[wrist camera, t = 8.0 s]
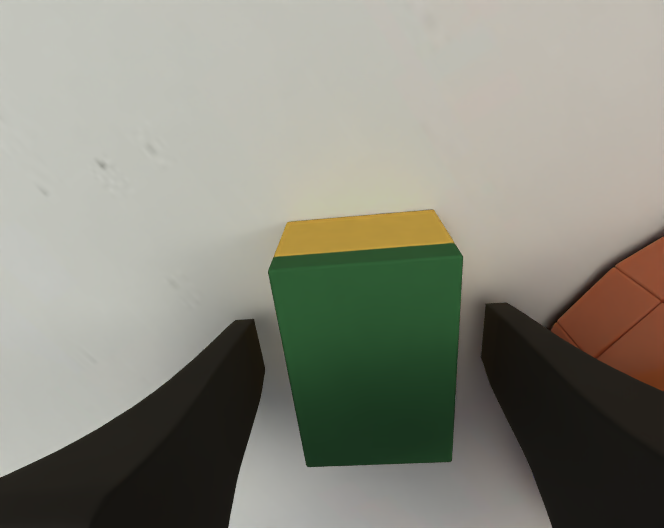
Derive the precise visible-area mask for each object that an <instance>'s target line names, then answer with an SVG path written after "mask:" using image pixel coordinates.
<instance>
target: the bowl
mask: <svg viewBox="0 0 664 528" xmlns="http://www.w3.org/2000/svg"><path fill="white" fill-rule="evenodd" d="M550 331H551V332H553V333H554V334H556V335H557V336H559V337H561V338H562V339H564V340H565V341H567V342H569V343H570V344H572V345H574V346H575V347H577V348H579V349H580V350H582V351H584V352H586V353H587V354H589V355H591V356H593V357H594V358H596V359H598V360H600V361H601V362H603V363H605V364H607V365H609V366H611V367H613V368H615V369H617V370H619V371H621V372H623V373H625V374H627V375H629V376H631V377H633V378H635V379H637V380H639V381H642V382H644V383H646V384H648V385H650V386H653V387H655V388H657V389H659V390H662V391H664V236H663V237H661V238H660V239H658V240H656V241H655V242H653V243H651V244H650V245H648V246H646V247H645V248H643V249H641V250H639V251H638V252H636V253H634V254H633V255H631V256H629V257H628V258H626V259H624V260H623V261H621V262H619V263H618V264H616V265H615V268H614V267H613V268H611V269H610V270H609V271H608V272H607V273H606V274H605V275H604V276H603V277H602V278H601V279H600V280H599V281H598V282H596V283H595V284H594V285H593V286H592V287H591V288H590V289H589V290H588V291H587V292H586V293H585V294H584V295H583V296H582V297H581V298H580V299H579V300H578V301H577V302H576V303H575V304H574V305H572V306H571V307H570V308H569V309H568V310H567V311H566V312H565V313H564V314H563V315H562V316H561V317H560V318H559V319H558V320H557V322H556V323H554V325H553V327H552V329H551V330H550Z"/></svg>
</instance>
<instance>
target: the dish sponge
mask: <svg viewBox="0 0 664 528" xmlns="http://www.w3.org/2000/svg"><path fill="white" fill-rule="evenodd" d="M462 267H463V256H462V254H461V253H460V251H459V249H458V248H457V246H456V245H455V244H454V241H453V240H452V238H451V237H450V235H449V233H448V232H447V230H446V229H445V227H444V225H443V224H442V222H441V221H440V219H439V218H438V216H437V214H436V213H435V211H434V210H423V211H412V212H400V213H388V214H376V215H365V216H353V217H341V218H329V219H317V220H306V221H294V222H288V223H287V224H286V227H285V229H284V232H283V234H282V237H281V239H280V242H279V245H278V247H277V250H276V252H275V255H274V258H273V260H272V262H271V265H270V267H269V270H268V274H269V279H270V284H271V289H272V294H273V299H274V304H275V310H276V315H277V320H278V325H279V330H280V335H281V340H282V345H283V350H284V355H285V360H286V365H287V370H288V375H289V380H290V385H291V390H292V396H293V401H294V406H295V411H296V416H297V421H298V426H299V431H300V436H301V441H302V446H303V451H304V456H305V461H306V466H307V467H324V466H352V465H380V464H408V463H435V462H451V461H452V450H453V432H454V414H455V395H456V377H457V359H458V340H459V322H460V304H461V285H462Z"/></svg>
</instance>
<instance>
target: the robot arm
mask: <svg viewBox="0 0 664 528" xmlns="http://www.w3.org/2000/svg"><path fill="white" fill-rule="evenodd" d="M481 359H482V362H483V365H484V368H485V371H486V374H487V377H488V380H489V383H490V385H491V388H492V390H493V392H494V394H495V396H496V398H497V400H498V402H499V404H500V406H501V408H502V410H503V412H504V414H505V417H506V419H507V421H508V423H509V425H510V427H511V429H512V431H513V433H514V435H515V437H516V439H517V441H518V443H519V445H520V447H521V449H522V451H523V453H524V455H525V457H526V459H527V462H528V464H529V466H530V468H531V471H532V473H533V476H534V479H535V481H536V484H537V487H538V489H539V492H540V494H541V497H542V500H543V502H544V505H545V508H546V511H547V514H548V516H549V519H550V522H551V525H552V528H664V391H662V390H659V389H657V388H655V387H653V386H650V385H648V384H646V383H644V382H642V381H639V380H637V379H635V378H633V377H631V376H629V375H627V374H625V373H623V372H621V371H619V370H617V369H615V368H613V367H611V366H609V365H607V364H605V363H603V362H601V361H600V360H598V359H596V358H594V357H593V356H591V355H589V354H587V353H586V352H584V351H582V350H580V349H579V348H577V347H575V346H574V345H572V344H570V343H569V342H567V341H565V340H564V339H562V338H561V337H559V336H557V335H556V334H554V333H553V332H551V331H550V330H548V329H547V328H545V327H543V326H542V325H540V324H539V323H537V322H536V321H534V320H533V319H531V318H530V317H528V316H527V315H525V314H524V313H522V312H521V311H519V310H518V309H516V308H515V307H513V306H512V305H510V304H508V303H491V304H486V306H485V318H484V329H483V340H482V351H481ZM264 375H265V365H264V361H263V356H262V352H261V348H260V343H259V339H258V334H257V330H256V326H255V321H254V319H245V320H235V321H234V322H233V323H231V324H230V325H229V326H228V327H227V328H226V329H225V330H224V331H223V332H222V333H221V334H220V335H219V336H218V337H217V338H216V339H215V340H214V341H213V342H211V343H210V344H209V345H208V346H207V347H206V348H205V349H204V350H203V351H202V352H201V353H200V354H199V355H198V356H197V357H195V358H194V359H193V360H192V361H191V362H190V363H189V364H187V365H186V366H185V367H184V368H183V369H182V370H180V371H179V372H178V373H177V374H176V375H175V376H173V377H172V378H171V379H170V380H169V381H167V382H166V383H165V384H164V385H162V386H161V387H160V388H158V389H157V390H156V391H154V392H153V393H152V394H150V395H149V396H148V397H146V398H145V399H143V400H142V401H141V402H139V403H138V404H136V405H135V406H133V407H132V408H130V409H129V410H127V411H126V412H124V413H122V414H121V415H119V416H118V417H116V418H114V419H113V420H111V421H110V422H108V423H106V424H105V425H103V426H102V427H100V428H98V429H97V430H95V431H93V432H91V433H90V434H88V435H86V436H84V437H82V438H81V439H79V440H77V441H75V442H73V443H71V444H69V445H68V446H66V447H64V448H62V449H60V450H58V451H56V452H54V453H52V454H50V455H48V456H46V457H44V458H42V459H40V460H38V461H35V462H33V463H31V464H29V465H27V466H25V467H23V468H20V469H18V470H16V471H14V472H12V473H10V474H8V475H5V476H3V477H1V478H0V528H228V526H229V520H230V514H231V509H232V504H233V499H234V493H235V488H236V483H237V478H238V474H239V471H240V467H241V463H242V460H243V456H244V453H245V450H246V446H247V443H248V440H249V436H250V433H251V430H252V426H253V423H254V420H255V416H256V413H257V409H258V406H259V402H260V399H261V394H262V388H263V382H264Z"/></svg>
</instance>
